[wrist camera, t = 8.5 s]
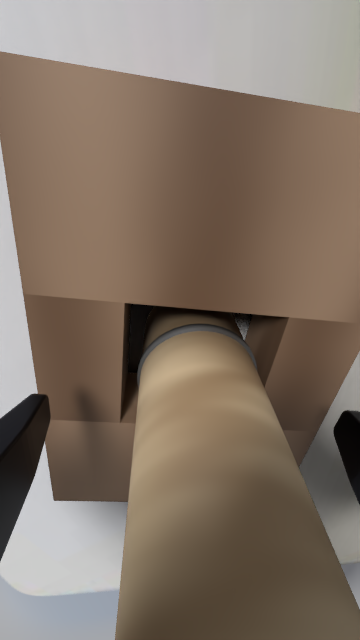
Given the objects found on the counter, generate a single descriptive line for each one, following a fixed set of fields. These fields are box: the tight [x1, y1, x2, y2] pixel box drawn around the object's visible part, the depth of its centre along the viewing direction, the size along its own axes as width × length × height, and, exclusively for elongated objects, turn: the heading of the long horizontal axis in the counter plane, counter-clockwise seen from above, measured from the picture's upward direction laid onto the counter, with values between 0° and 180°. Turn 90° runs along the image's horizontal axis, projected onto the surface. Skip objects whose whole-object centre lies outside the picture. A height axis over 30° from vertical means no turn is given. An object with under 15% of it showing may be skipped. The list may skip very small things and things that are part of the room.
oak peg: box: [115, 306, 360, 640], centre depth 9 cm, size 4×4×10 cm
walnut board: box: [0, 52, 360, 502], centre depth 12 cm, size 11×16×3 cm
